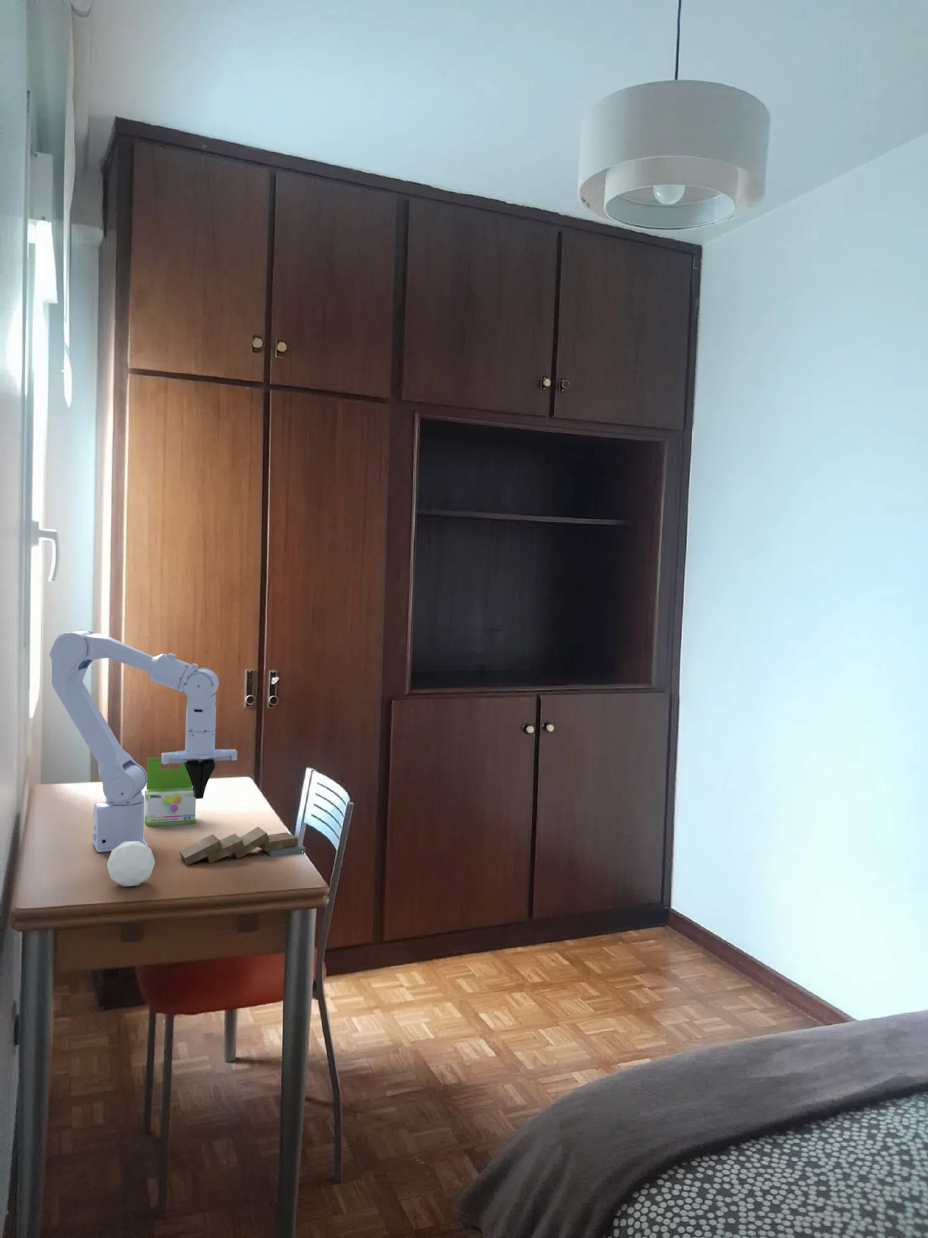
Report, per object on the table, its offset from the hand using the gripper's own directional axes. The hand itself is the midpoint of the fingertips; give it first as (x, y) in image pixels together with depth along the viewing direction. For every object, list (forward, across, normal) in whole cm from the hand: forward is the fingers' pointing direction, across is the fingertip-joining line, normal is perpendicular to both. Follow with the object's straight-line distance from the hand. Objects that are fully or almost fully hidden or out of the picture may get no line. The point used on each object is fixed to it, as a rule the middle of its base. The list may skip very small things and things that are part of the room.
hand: (198, 797), depth 192 cm
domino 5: (+10, +12, -9) cm, 18 cm away
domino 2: (+9, -1, -9) cm, 13 cm away
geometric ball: (+10, -16, -19) cm, 27 cm away
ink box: (+10, -1, +21) cm, 23 cm away
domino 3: (+9, +5, -8) cm, 13 cm away
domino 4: (+8, +10, -8) cm, 15 cm away
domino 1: (+9, -5, -9) cm, 14 cm away
